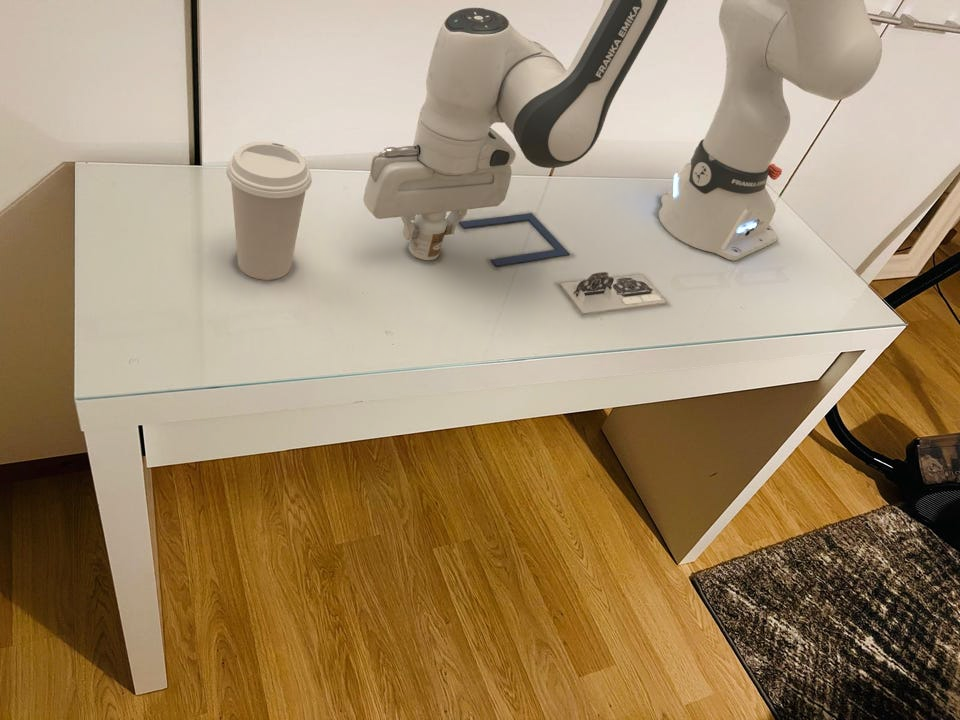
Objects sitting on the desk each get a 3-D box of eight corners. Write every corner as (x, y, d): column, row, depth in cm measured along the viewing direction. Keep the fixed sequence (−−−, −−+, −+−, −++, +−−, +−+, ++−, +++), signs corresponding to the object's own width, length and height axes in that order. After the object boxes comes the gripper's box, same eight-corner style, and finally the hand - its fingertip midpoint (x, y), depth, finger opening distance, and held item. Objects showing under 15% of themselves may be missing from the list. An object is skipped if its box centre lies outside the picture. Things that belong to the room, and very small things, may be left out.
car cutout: (582, 315, 105) (592, 290, 102) (559, 285, 109) (568, 260, 106) (665, 304, 112) (677, 280, 109) (641, 276, 116) (652, 252, 113)
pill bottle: (435, 265, 105) (446, 218, 100) (404, 255, 105) (415, 208, 100) (442, 248, 108) (453, 202, 103) (413, 239, 108) (423, 192, 103)
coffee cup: (317, 262, 99) (329, 160, 89) (273, 298, 92) (280, 191, 82) (256, 233, 101) (261, 129, 91) (208, 265, 94) (208, 157, 84)
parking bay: (530, 214, 121) (531, 212, 121) (569, 255, 115) (570, 253, 115) (458, 223, 114) (459, 221, 114) (495, 267, 108) (496, 265, 108)
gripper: (385, 162, 89) (369, 257, 98) (526, 153, 99) (499, 239, 108) (363, 135, 92) (349, 229, 101) (502, 128, 103) (478, 214, 112)
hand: (428, 234), depth 105 cm, fingers closed on pill bottle, 4 cm apart
